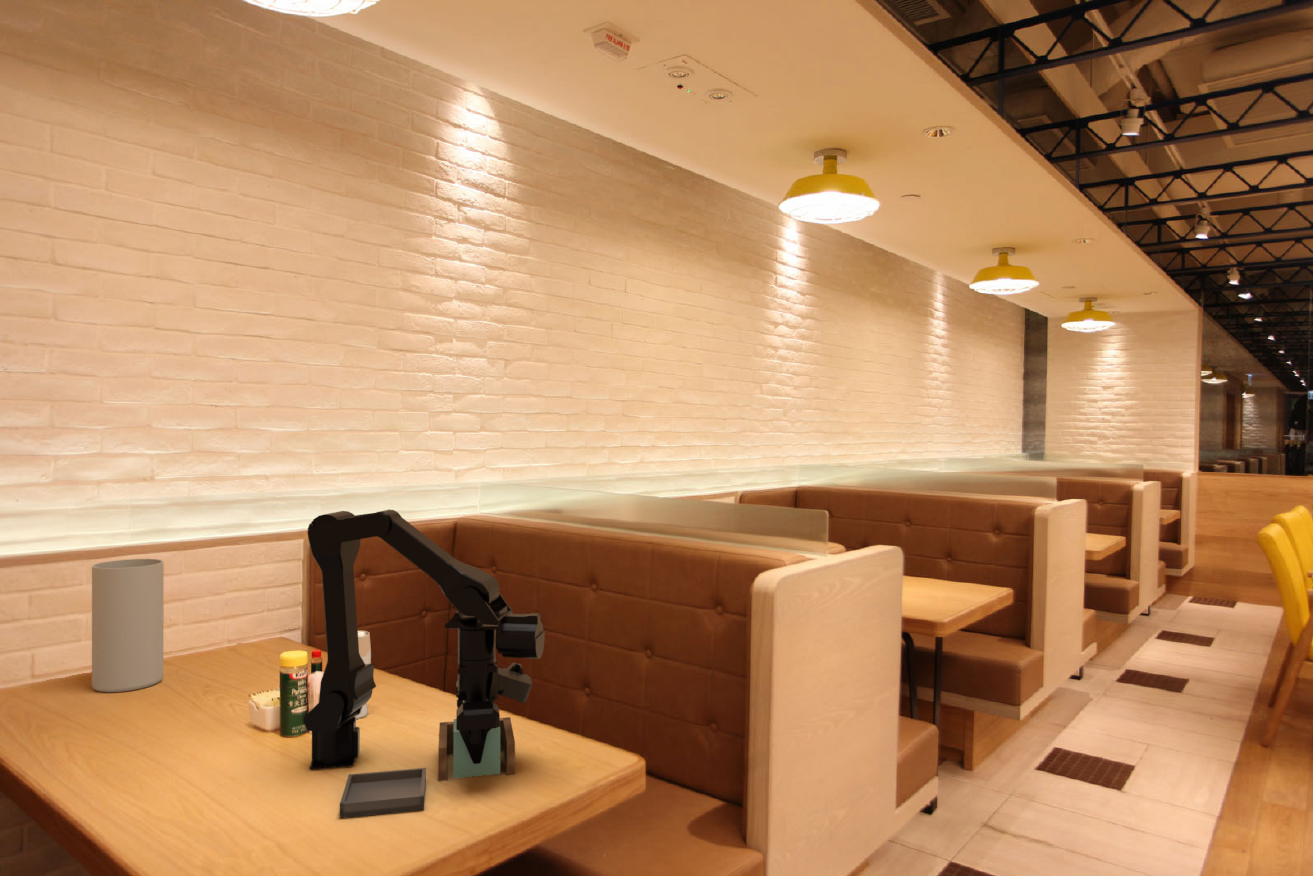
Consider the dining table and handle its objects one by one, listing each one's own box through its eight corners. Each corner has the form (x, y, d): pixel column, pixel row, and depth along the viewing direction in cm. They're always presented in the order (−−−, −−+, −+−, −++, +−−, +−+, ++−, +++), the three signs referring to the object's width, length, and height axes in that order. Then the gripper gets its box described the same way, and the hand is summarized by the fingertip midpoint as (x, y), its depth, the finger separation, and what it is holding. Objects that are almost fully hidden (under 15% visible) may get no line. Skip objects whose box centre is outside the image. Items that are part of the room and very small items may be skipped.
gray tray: (339, 818, 113) (339, 804, 113) (348, 787, 122) (348, 774, 122) (423, 810, 115) (423, 796, 115) (426, 780, 125) (426, 767, 125)
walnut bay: (438, 781, 125) (438, 748, 125) (439, 753, 136) (439, 722, 136) (514, 774, 128) (514, 741, 128) (510, 747, 139) (510, 717, 139)
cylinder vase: (139, 693, 165) (139, 568, 165) (77, 693, 165) (76, 568, 165) (176, 675, 178) (176, 559, 178) (118, 674, 178) (118, 558, 178)
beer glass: (357, 723, 150) (357, 640, 149) (322, 720, 151) (323, 638, 151) (377, 710, 156) (378, 631, 156) (344, 707, 158) (344, 629, 158)
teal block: (453, 778, 126) (453, 732, 126) (453, 763, 132) (453, 719, 132) (500, 774, 128) (500, 728, 128) (498, 759, 133) (498, 715, 133)
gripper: (534, 669, 122) (533, 774, 123) (523, 638, 141) (523, 730, 141) (456, 674, 120) (456, 782, 120) (456, 642, 138) (456, 735, 138)
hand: (476, 755), depth 130 cm, fingers closed on teal block, 6 cm apart
